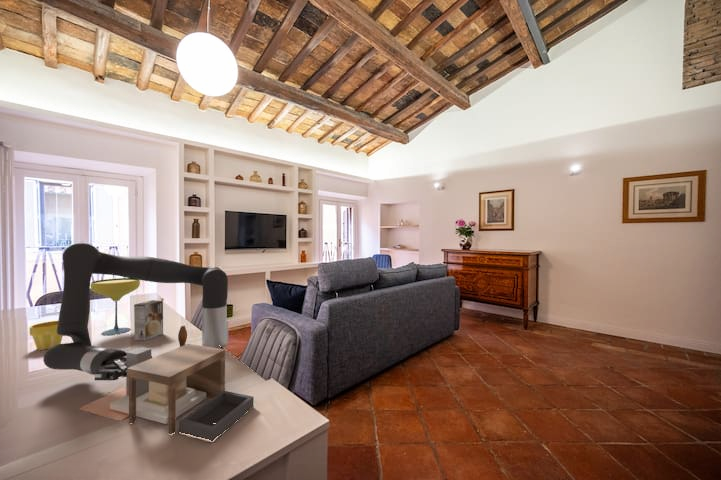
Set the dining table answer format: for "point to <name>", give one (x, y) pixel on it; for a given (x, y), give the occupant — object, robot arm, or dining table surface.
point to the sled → (142, 394)
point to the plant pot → (45, 335)
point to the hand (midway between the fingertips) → (146, 369)
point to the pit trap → (216, 415)
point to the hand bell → (182, 336)
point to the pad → (107, 406)
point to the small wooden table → (180, 375)
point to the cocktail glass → (115, 295)
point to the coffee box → (148, 319)
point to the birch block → (165, 392)
